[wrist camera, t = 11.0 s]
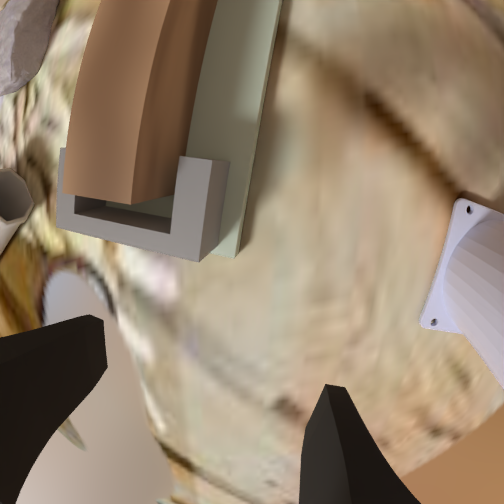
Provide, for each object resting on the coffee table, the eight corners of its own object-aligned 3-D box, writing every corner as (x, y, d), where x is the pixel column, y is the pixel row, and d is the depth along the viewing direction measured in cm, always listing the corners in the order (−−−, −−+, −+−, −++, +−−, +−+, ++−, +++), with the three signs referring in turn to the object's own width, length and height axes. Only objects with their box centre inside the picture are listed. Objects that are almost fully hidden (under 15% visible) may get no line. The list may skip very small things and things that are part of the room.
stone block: (55, 84, 18) (67, -15, 14) (12, 89, 14) (28, -22, 10) (-4, 104, 20) (2, 24, 16) (-38, 112, 16) (-30, 25, 12)
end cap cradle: (303, -101, 9) (299, -132, 5) (238, 253, 17) (218, 277, 13) (169, -92, 10) (151, -115, 7) (86, 220, 19) (46, 232, 15)
